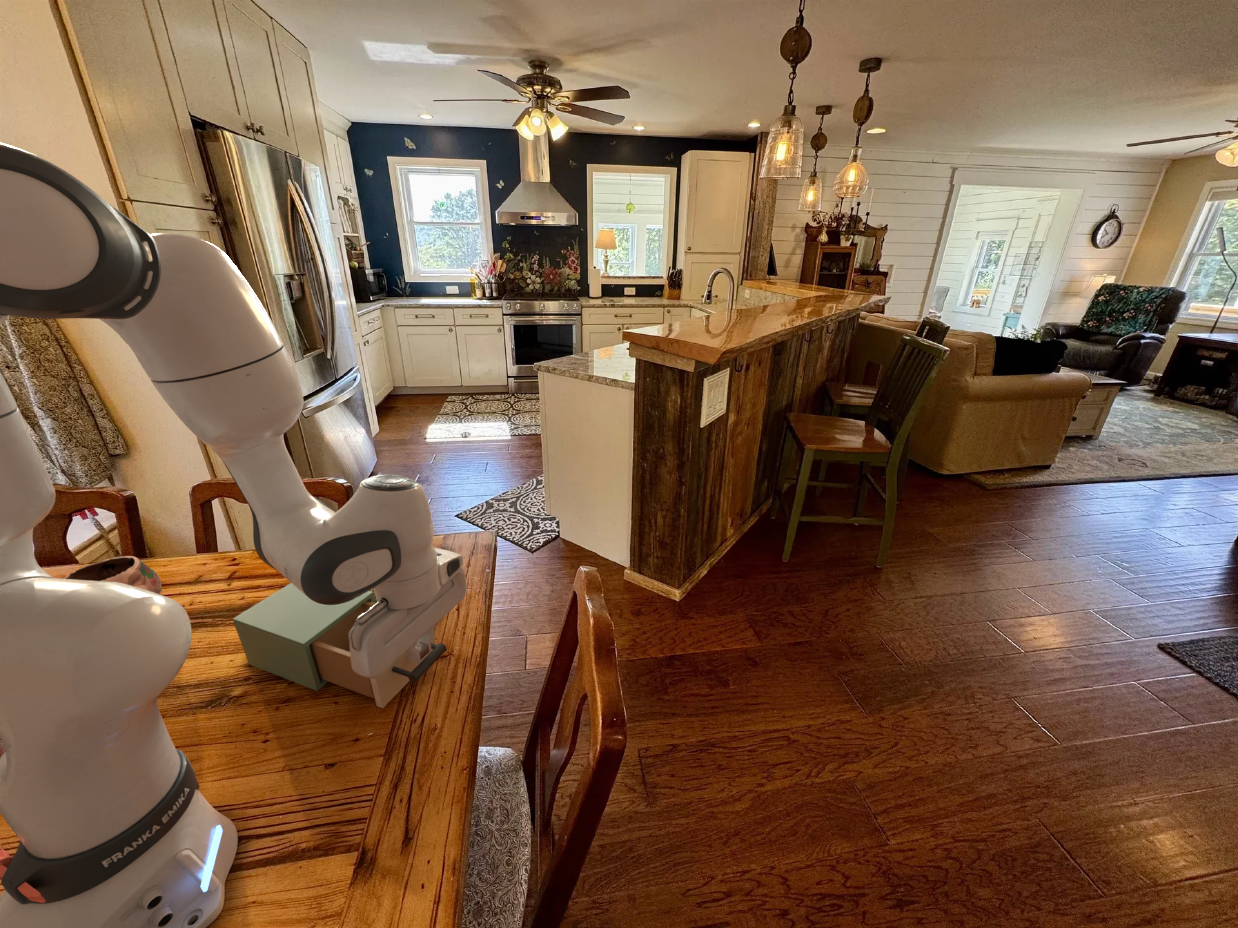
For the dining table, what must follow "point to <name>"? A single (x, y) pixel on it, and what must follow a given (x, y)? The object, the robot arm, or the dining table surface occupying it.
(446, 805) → the dining table surface
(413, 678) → the drawer
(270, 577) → the dining table surface
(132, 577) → the decorative planter
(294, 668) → the cabinet
